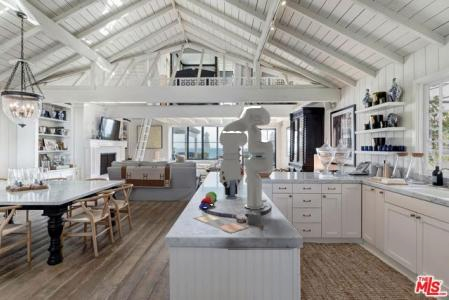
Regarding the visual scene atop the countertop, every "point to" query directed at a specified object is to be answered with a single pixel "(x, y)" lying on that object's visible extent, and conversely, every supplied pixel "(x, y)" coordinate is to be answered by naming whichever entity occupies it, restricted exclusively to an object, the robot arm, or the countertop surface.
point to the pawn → (232, 190)
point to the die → (254, 218)
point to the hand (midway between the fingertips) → (231, 194)
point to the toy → (208, 200)
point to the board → (221, 223)
